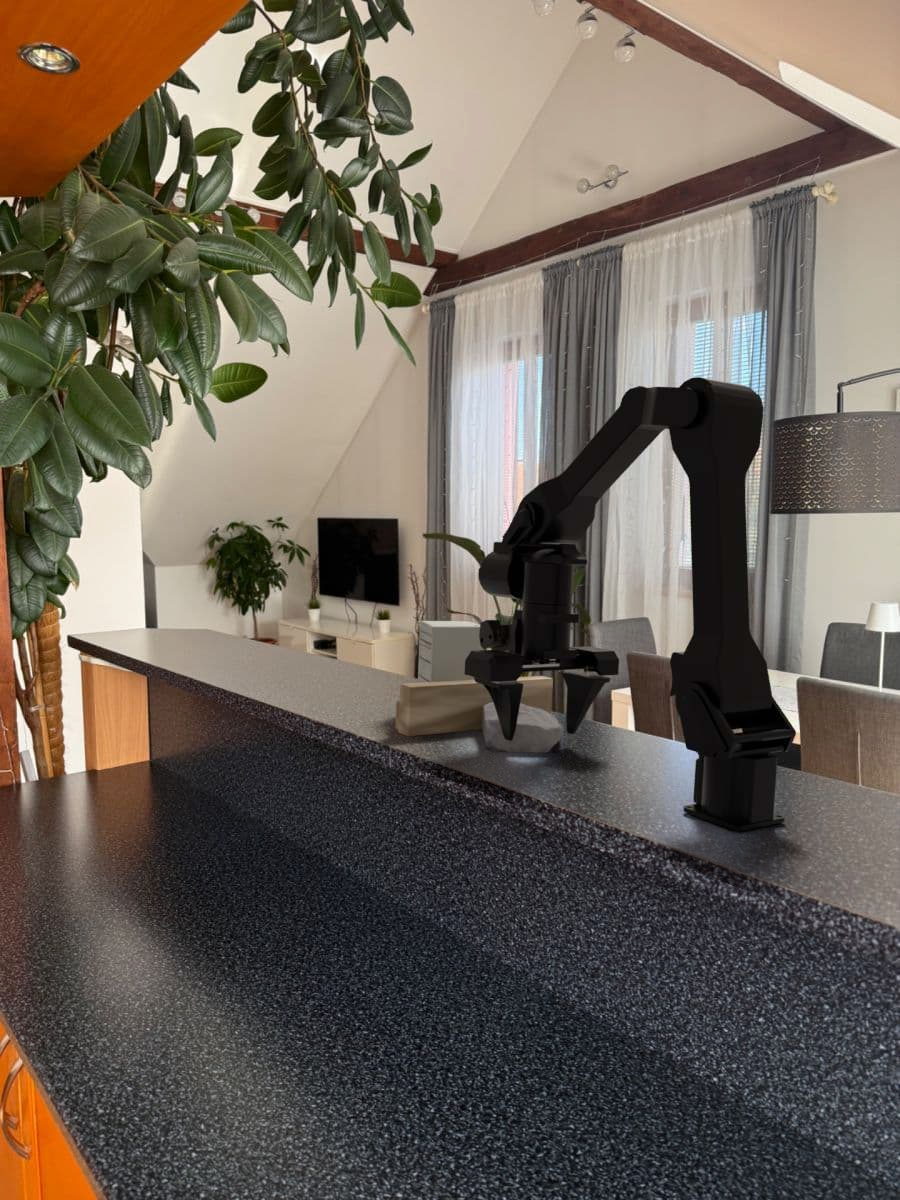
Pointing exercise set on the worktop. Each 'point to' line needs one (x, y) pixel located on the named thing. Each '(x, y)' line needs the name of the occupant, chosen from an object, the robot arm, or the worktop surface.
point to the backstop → (458, 704)
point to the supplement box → (446, 650)
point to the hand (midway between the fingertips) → (540, 736)
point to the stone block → (522, 730)
